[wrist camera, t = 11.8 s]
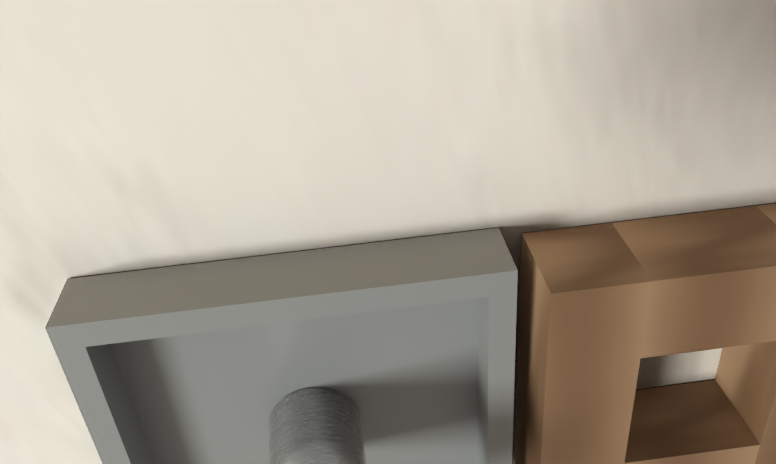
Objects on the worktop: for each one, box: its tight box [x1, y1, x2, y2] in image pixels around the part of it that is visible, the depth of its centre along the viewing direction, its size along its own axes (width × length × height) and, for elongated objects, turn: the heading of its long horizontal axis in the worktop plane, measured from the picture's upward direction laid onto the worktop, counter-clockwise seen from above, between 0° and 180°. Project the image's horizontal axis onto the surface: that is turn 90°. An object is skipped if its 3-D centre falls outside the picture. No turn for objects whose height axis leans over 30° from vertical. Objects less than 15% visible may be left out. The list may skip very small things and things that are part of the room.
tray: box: [46, 228, 518, 464], centre depth 24 cm, size 13×13×2 cm
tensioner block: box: [514, 203, 776, 464], centre depth 23 cm, size 10×10×3 cm
